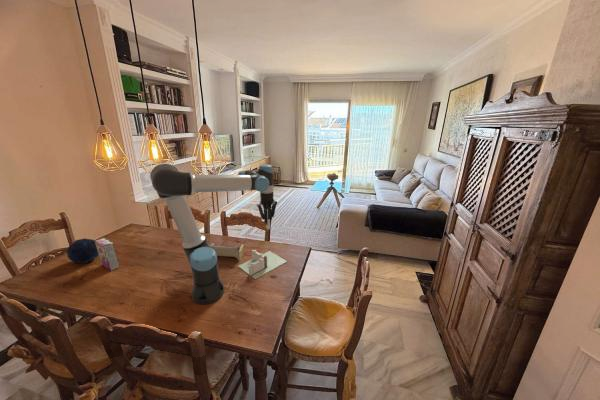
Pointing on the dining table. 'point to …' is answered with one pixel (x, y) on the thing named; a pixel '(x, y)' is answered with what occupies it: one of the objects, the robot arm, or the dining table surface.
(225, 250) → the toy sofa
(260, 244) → the dining table surface
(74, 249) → the decorative orb
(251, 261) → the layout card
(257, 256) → the fence hinged panel
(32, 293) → the dining table surface
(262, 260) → the fence fixed panel
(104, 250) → the candy bar box
